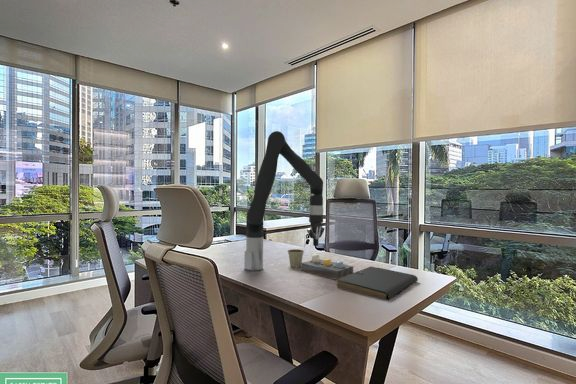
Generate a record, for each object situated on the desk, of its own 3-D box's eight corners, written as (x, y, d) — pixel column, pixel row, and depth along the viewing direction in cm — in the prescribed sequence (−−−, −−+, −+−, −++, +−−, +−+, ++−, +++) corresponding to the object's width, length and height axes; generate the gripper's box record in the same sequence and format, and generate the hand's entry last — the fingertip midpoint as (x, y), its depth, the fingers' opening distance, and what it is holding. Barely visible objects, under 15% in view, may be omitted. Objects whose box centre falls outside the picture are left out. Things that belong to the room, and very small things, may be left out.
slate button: (340, 273, 149) (340, 263, 149) (333, 271, 152) (333, 262, 152) (344, 272, 152) (344, 262, 152) (337, 270, 155) (338, 260, 155)
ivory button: (316, 265, 160) (316, 255, 160) (310, 263, 162) (310, 254, 162) (320, 264, 162) (320, 254, 162) (314, 262, 165) (314, 253, 165)
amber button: (327, 270, 154) (327, 260, 154) (321, 269, 157) (321, 259, 157) (332, 269, 157) (332, 259, 157) (326, 267, 160) (326, 258, 160)
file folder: (370, 265, 158) (417, 275, 142) (370, 273, 158) (417, 283, 142) (336, 278, 133) (389, 292, 117) (335, 288, 133) (388, 302, 117)
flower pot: (284, 264, 172) (284, 249, 172) (299, 263, 176) (299, 248, 176) (291, 268, 163) (291, 253, 163) (306, 267, 167) (307, 251, 167)
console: (337, 279, 144) (338, 271, 144) (301, 270, 160) (301, 263, 160) (353, 274, 155) (353, 266, 155) (317, 265, 170) (317, 258, 170)
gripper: (318, 212, 170) (317, 243, 170) (302, 213, 160) (302, 246, 160) (329, 213, 164) (328, 245, 164) (314, 214, 155) (313, 248, 155)
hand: (315, 245), depth 162 cm, fingers closed
